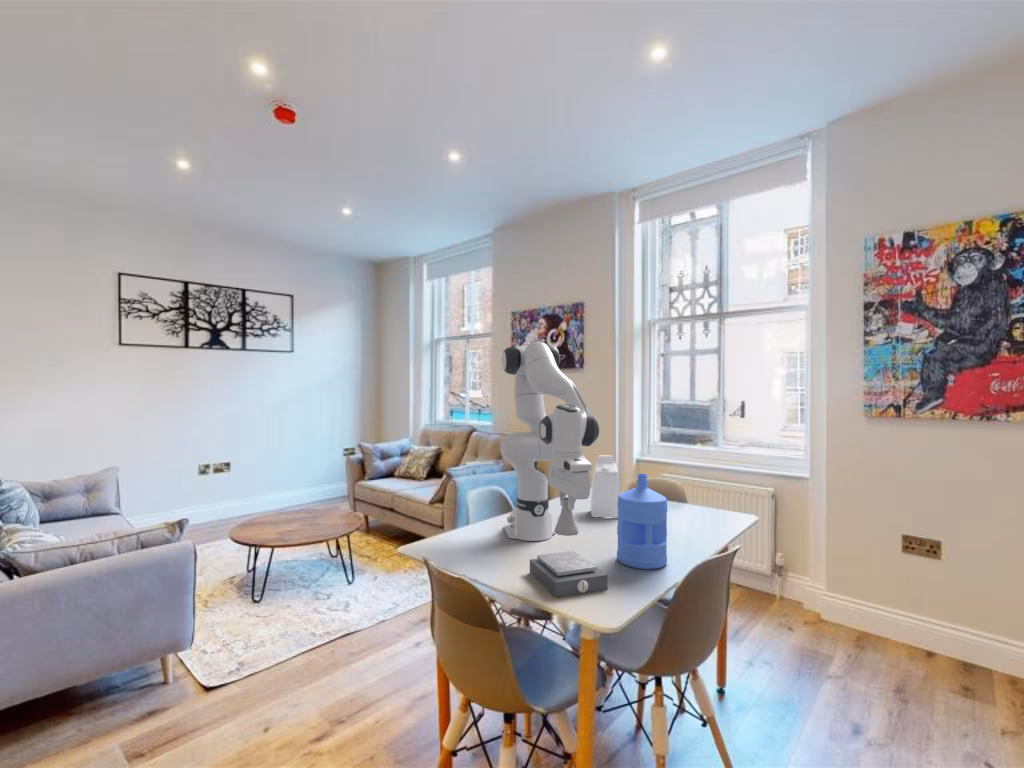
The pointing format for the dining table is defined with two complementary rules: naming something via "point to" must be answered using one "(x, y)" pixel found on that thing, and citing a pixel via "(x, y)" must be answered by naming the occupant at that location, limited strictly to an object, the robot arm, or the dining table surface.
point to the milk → (605, 488)
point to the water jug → (642, 527)
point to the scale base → (568, 580)
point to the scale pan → (566, 563)
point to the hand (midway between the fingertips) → (567, 507)
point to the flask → (566, 521)
